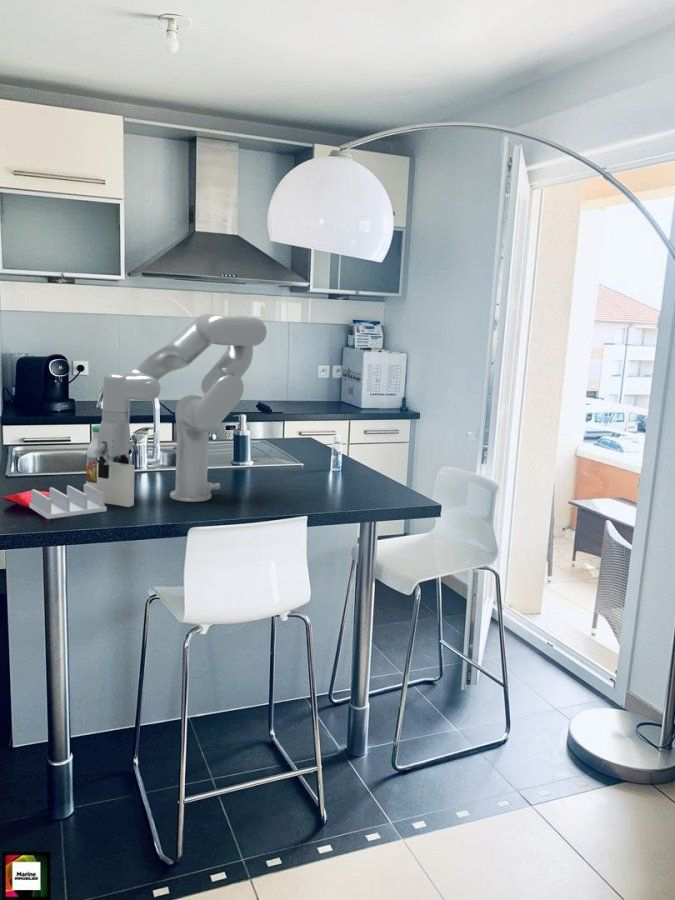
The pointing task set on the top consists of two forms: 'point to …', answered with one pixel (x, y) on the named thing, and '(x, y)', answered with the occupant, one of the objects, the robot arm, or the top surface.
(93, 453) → the milk bottle
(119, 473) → the plate
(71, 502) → the dish rack
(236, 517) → the top surface
